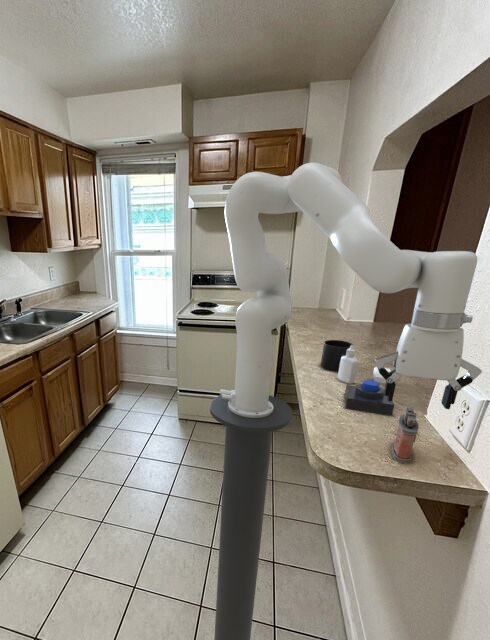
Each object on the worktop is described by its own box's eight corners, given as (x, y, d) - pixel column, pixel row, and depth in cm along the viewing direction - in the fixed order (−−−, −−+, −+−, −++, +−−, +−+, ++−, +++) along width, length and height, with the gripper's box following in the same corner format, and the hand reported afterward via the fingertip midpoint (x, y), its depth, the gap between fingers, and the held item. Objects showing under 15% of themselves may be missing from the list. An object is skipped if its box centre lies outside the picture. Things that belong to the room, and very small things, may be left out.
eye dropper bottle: (340, 383, 113) (346, 347, 109) (336, 377, 118) (342, 342, 114) (355, 384, 112) (361, 348, 108) (350, 378, 118) (357, 343, 113)
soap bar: (373, 381, 114) (375, 374, 114) (373, 372, 122) (374, 365, 121) (391, 384, 112) (393, 376, 111) (389, 375, 120) (391, 367, 119)
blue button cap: (362, 391, 96) (363, 384, 96) (361, 385, 100) (362, 379, 99) (378, 393, 95) (380, 386, 94) (377, 387, 98) (378, 381, 98)
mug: (326, 374, 121) (330, 349, 118) (317, 362, 132) (320, 339, 129) (355, 375, 120) (360, 350, 117) (343, 363, 131) (347, 340, 128)
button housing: (345, 408, 97) (348, 391, 95) (344, 394, 105) (347, 379, 104) (391, 415, 93) (395, 398, 91) (387, 400, 101) (390, 384, 99)
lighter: (411, 465, 73) (423, 422, 69) (392, 460, 74) (403, 418, 71) (408, 446, 79) (419, 406, 76) (391, 442, 81) (400, 402, 77)
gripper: (487, 319, 66) (463, 402, 72) (380, 314, 73) (366, 390, 79) (503, 327, 60) (475, 417, 65) (385, 321, 67) (369, 403, 72)
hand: (416, 402), depth 72 cm, fingers open, 9 cm apart
